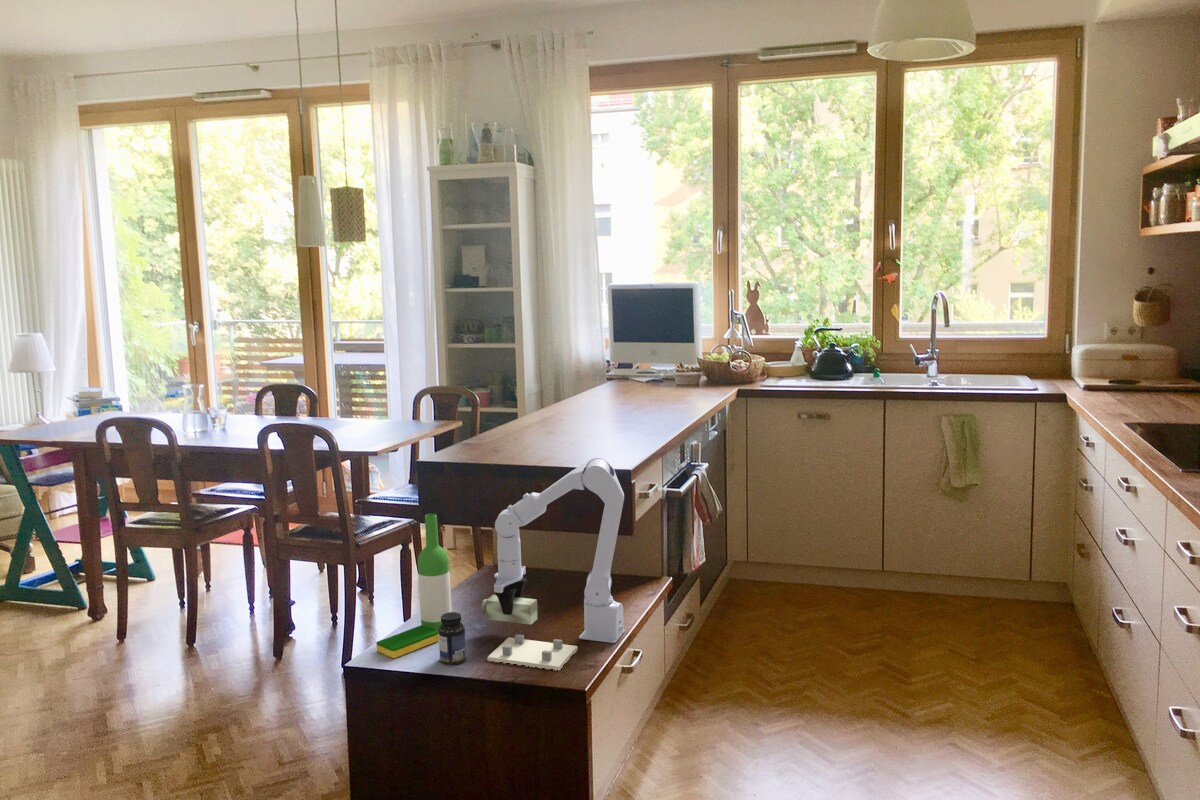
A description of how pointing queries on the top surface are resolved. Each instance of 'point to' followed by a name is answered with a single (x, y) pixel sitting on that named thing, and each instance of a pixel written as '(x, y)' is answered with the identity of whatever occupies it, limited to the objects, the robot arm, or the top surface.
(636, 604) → the top surface
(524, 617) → the tall single-stud brick
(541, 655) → the cradle jig
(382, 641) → the dish sponge
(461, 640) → the pill bottle
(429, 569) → the wine bottle
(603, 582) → the robot arm
